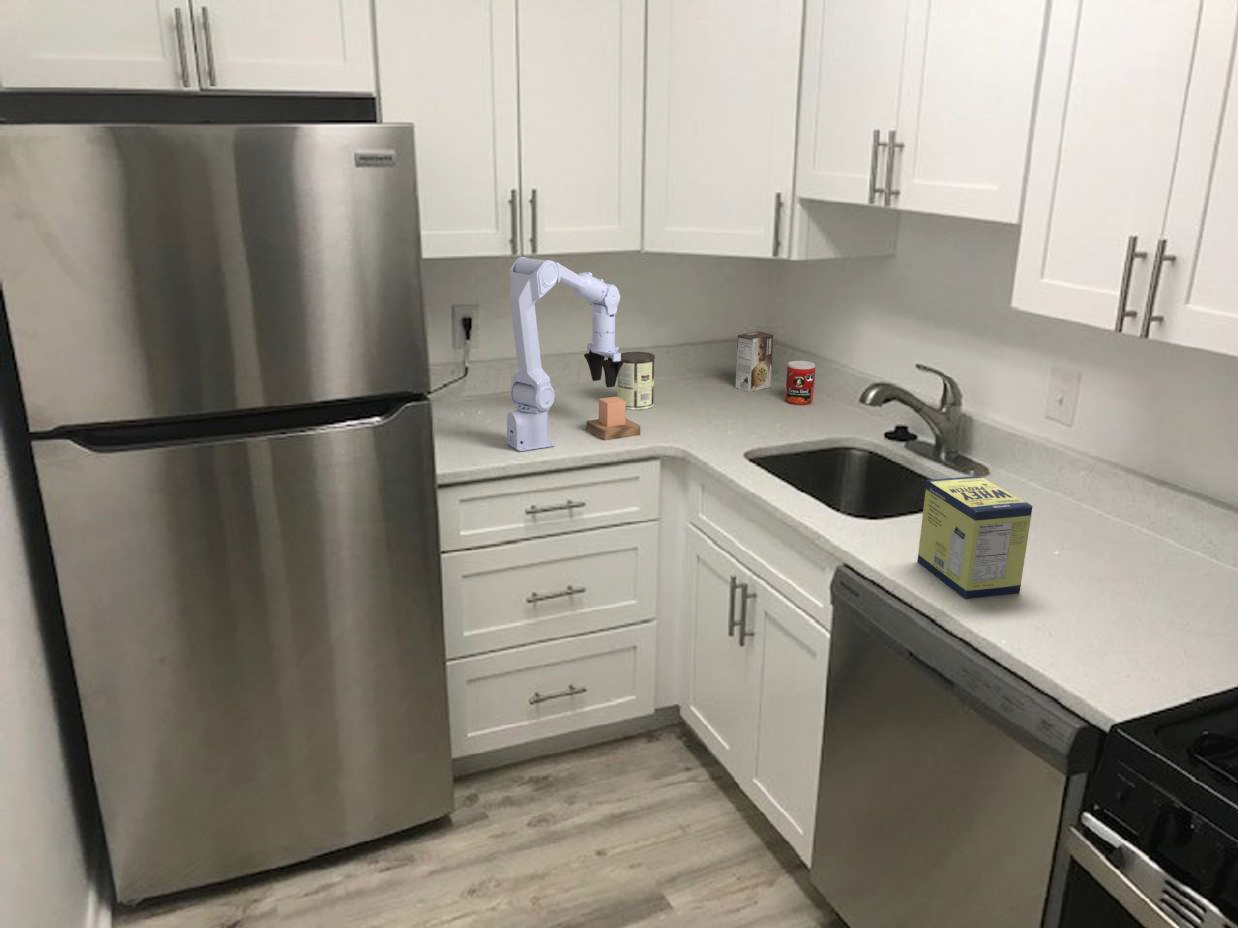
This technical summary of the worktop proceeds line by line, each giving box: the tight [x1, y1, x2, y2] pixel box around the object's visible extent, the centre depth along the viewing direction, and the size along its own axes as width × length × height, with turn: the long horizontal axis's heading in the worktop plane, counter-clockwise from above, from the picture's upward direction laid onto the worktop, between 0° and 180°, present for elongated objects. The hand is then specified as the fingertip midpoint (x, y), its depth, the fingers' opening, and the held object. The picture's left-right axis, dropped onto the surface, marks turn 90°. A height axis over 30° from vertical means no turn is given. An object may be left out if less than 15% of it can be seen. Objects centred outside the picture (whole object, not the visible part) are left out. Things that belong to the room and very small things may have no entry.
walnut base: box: [585, 417, 641, 441], centre depth 244 cm, size 10×10×3 cm
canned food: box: [784, 360, 816, 406], centre depth 272 cm, size 8×8×11 cm
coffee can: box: [617, 351, 656, 411], centre depth 266 cm, size 10×10×14 cm
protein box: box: [916, 475, 1033, 599], centre depth 163 cm, size 10×16×16 cm
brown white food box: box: [735, 330, 774, 393], centre depth 286 cm, size 9×6×16 cm
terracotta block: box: [598, 396, 627, 427], centre depth 242 cm, size 5×5×6 cm
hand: (603, 383), depth 249 cm, fingers open, 7 cm apart
